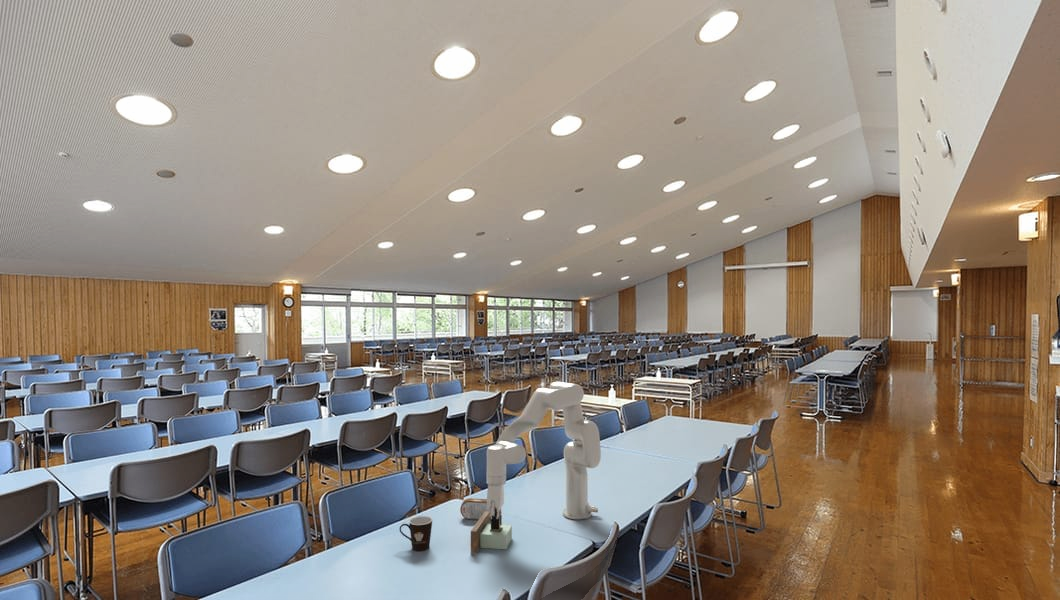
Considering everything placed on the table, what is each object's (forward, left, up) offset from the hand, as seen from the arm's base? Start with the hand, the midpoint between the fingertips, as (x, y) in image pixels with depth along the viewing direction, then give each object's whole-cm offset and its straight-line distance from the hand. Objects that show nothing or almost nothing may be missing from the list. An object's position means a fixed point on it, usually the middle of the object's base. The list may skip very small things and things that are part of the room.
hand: (496, 526), depth 195 cm
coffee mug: (+29, +8, -6) cm, 30 cm away
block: (0, 0, -6) cm, 6 cm away
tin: (+14, -22, -6) cm, 27 cm away
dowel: (0, 0, -3) cm, 3 cm away
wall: (+6, 0, -6) cm, 9 cm away
